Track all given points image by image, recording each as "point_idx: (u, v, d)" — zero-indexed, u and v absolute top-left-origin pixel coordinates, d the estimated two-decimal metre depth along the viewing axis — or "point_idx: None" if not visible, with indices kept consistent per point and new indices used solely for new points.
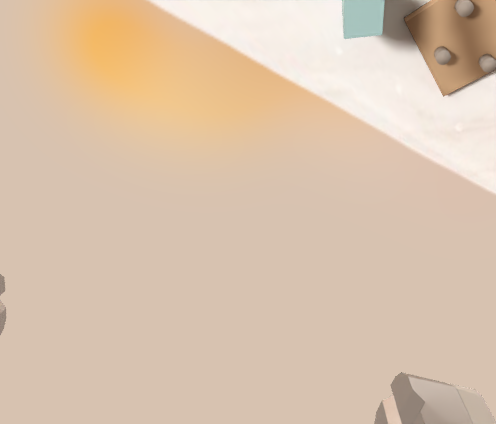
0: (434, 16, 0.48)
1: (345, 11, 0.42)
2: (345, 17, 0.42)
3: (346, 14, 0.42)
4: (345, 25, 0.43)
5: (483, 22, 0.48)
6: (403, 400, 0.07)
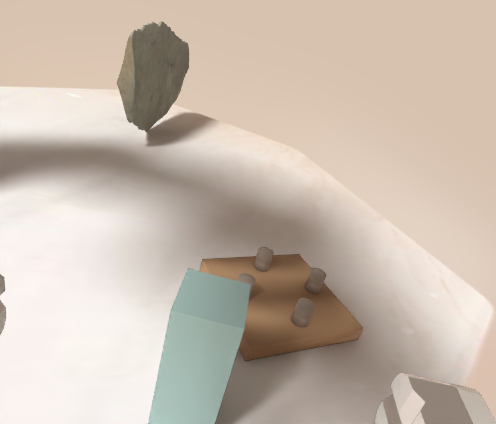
0: (250, 318, 0.34)
1: (193, 314, 0.21)
2: (204, 317, 0.21)
3: (199, 314, 0.21)
4: (219, 320, 0.21)
5: (267, 283, 0.40)
6: (403, 400, 0.07)
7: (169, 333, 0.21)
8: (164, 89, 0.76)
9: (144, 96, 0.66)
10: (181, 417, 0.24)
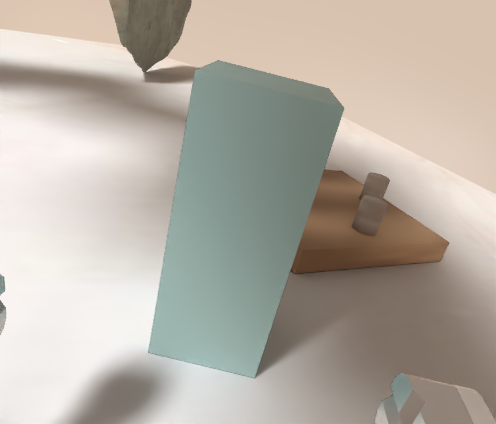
0: None
1: (241, 81, 0.10)
2: (263, 87, 0.10)
3: (252, 83, 0.10)
4: (293, 94, 0.10)
5: None
6: (403, 400, 0.07)
7: (191, 131, 0.11)
8: (164, 22, 0.66)
9: (140, 17, 0.56)
10: (209, 323, 0.14)
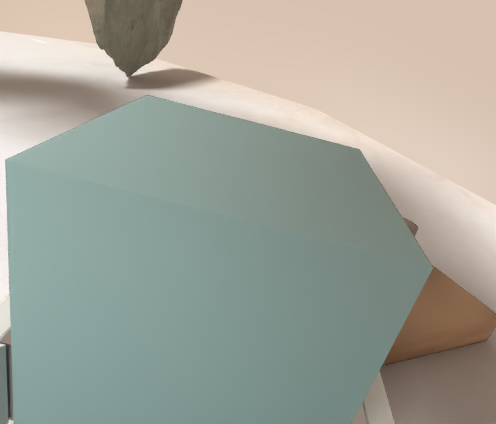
0: None
1: (142, 187, 0.04)
2: (204, 204, 0.04)
3: (177, 192, 0.04)
4: (287, 223, 0.04)
5: None
6: None
7: (26, 302, 0.04)
8: (150, 21, 0.59)
9: (120, 15, 0.49)
10: None
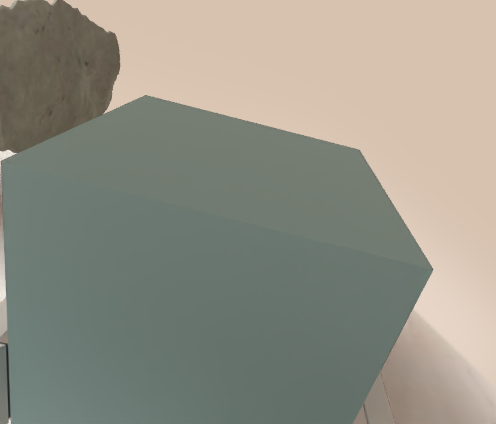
0: None
1: (138, 188, 0.04)
2: (201, 205, 0.04)
3: (174, 193, 0.04)
4: (286, 225, 0.04)
5: None
6: None
7: (23, 304, 0.04)
8: (77, 97, 0.54)
9: (27, 110, 0.44)
10: None
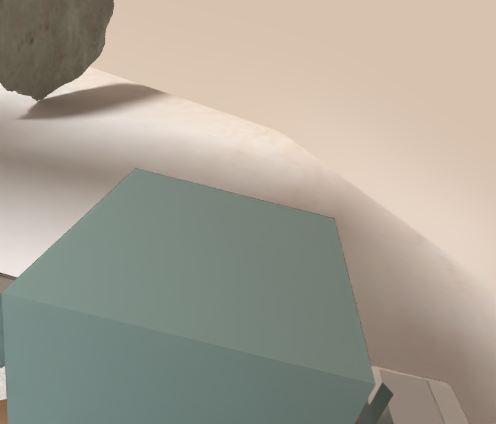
0: None
1: (121, 312, 0.04)
2: (175, 326, 0.04)
3: (152, 313, 0.04)
4: (249, 343, 0.04)
5: None
6: (373, 393, 0.07)
7: (21, 400, 0.05)
8: (64, 31, 0.48)
9: (2, 27, 0.38)
10: None
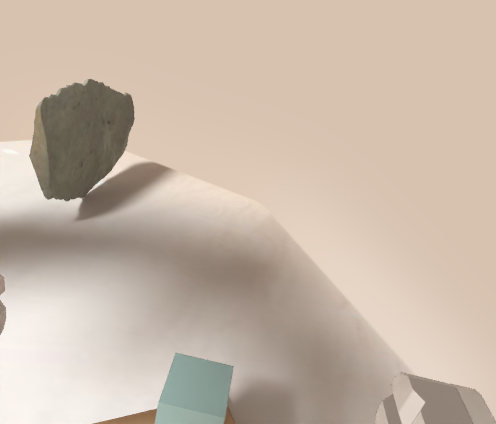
0: None
1: (179, 405, 0.23)
2: (189, 407, 0.23)
3: (184, 405, 0.23)
4: (202, 410, 0.23)
5: None
6: (403, 400, 0.07)
7: (158, 421, 0.24)
8: (101, 149, 0.67)
9: (66, 167, 0.57)
10: None
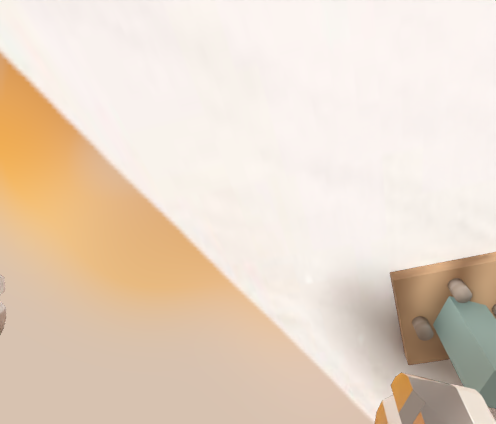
0: (425, 286, 0.41)
1: (489, 380, 0.33)
2: (485, 385, 0.33)
3: (488, 383, 0.33)
4: (481, 392, 0.34)
5: None
6: (403, 400, 0.07)
7: (484, 357, 0.34)
8: None
9: None
10: (447, 322, 0.40)
